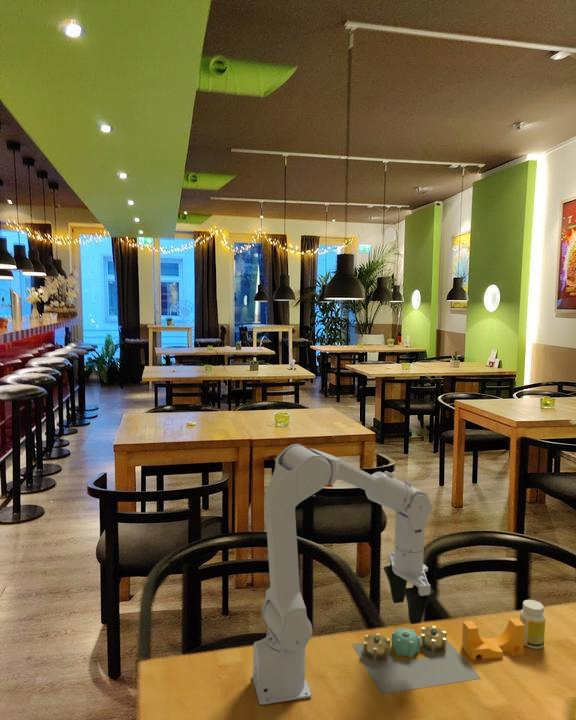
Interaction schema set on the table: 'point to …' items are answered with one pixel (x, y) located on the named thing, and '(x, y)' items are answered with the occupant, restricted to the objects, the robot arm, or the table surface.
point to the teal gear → (405, 642)
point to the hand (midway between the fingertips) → (406, 611)
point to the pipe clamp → (493, 641)
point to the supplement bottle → (533, 623)
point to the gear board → (414, 663)
